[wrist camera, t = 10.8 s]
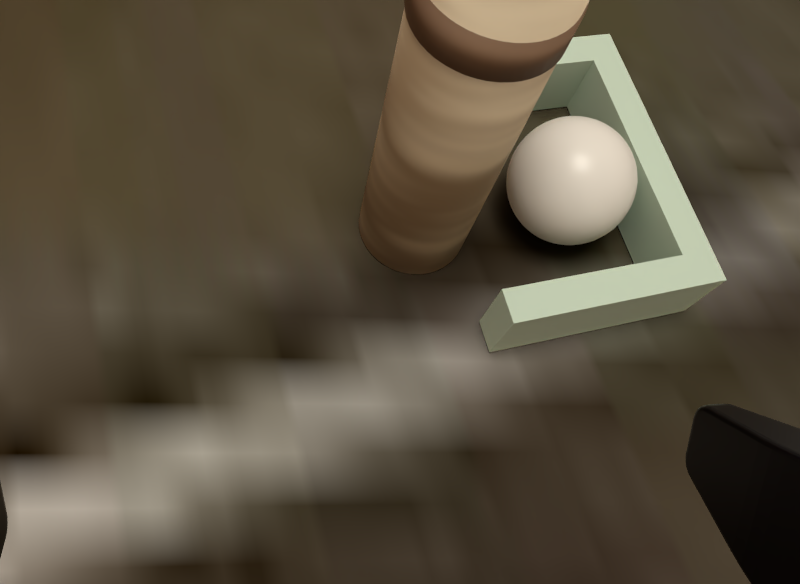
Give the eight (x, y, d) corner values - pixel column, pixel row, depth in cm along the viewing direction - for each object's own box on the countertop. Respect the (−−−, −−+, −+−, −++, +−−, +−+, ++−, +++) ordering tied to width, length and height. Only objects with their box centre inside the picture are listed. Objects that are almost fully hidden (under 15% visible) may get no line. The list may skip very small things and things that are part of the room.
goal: (683, 311, 27) (726, 280, 24) (489, 352, 25) (513, 323, 22) (582, 81, 31) (609, 34, 28) (406, 101, 29) (419, 52, 26)
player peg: (484, 253, 26) (653, -32, 15) (387, 291, 25) (487, 13, 13) (434, 166, 28) (552, -160, 16) (339, 198, 26) (391, -130, 15)
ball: (546, 181, 22) (476, 240, 26) (665, 231, 23) (580, 279, 27) (558, 69, 24) (491, 139, 28) (667, 120, 25) (588, 181, 29)
